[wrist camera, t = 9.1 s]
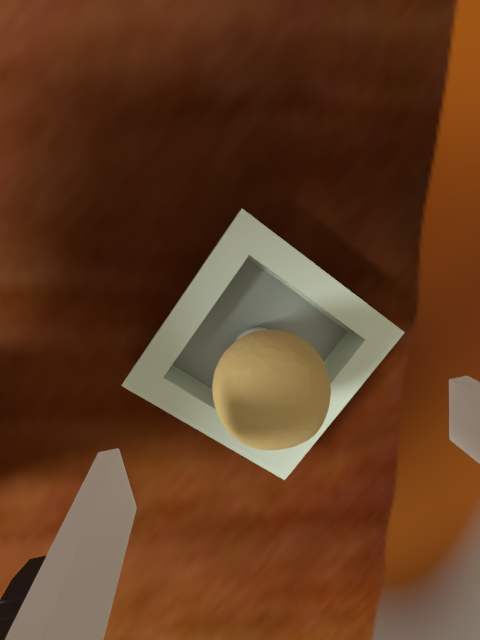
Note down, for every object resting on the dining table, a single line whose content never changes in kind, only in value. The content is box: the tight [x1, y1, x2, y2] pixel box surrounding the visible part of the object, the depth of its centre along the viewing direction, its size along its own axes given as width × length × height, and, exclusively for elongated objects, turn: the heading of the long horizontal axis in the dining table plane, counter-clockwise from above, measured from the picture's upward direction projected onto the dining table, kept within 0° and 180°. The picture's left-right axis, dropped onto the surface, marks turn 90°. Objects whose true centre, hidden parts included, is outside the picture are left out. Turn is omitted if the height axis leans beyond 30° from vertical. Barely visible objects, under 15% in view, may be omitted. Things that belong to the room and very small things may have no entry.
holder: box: [121, 209, 405, 480], centre depth 24 cm, size 14×14×4 cm
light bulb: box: [212, 327, 331, 451], centre depth 20 cm, size 6×6×10 cm
